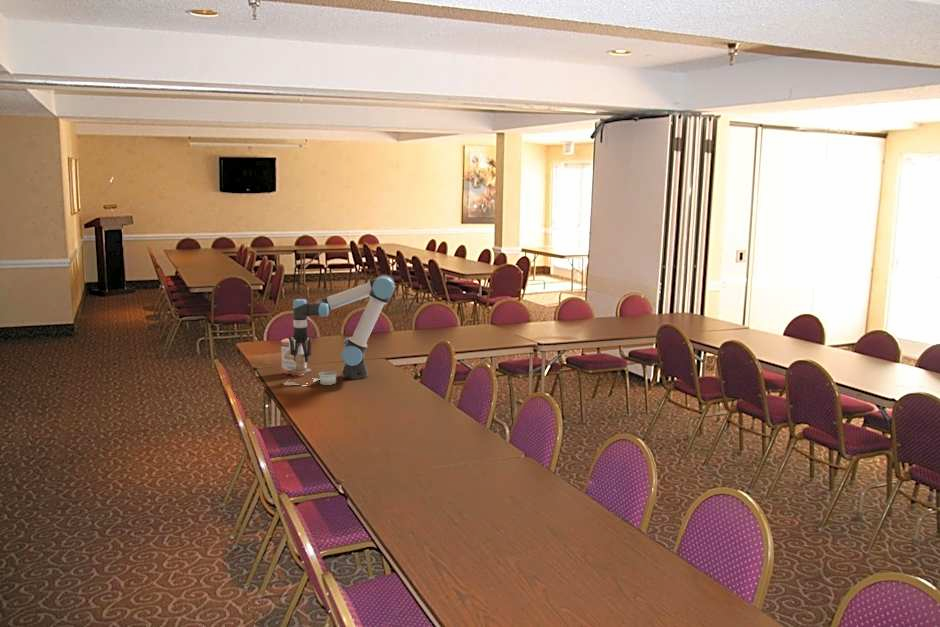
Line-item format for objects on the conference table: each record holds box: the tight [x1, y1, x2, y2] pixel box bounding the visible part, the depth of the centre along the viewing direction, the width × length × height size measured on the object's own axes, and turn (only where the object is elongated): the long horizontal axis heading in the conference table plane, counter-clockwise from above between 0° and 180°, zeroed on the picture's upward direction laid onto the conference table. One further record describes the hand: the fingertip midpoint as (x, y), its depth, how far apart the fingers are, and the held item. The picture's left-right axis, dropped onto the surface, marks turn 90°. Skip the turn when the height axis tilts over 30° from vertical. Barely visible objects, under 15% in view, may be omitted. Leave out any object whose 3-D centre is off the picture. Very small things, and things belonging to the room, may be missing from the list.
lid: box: [291, 353, 312, 375], centre depth 438 cm, size 11×11×10 cm
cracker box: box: [280, 338, 308, 376], centre depth 456 cm, size 14×6×21 cm, turn 68°
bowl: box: [318, 370, 338, 386], centre depth 436 cm, size 10×10×6 cm
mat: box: [282, 378, 320, 387], centre depth 440 cm, size 16×16×1 cm
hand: (301, 367), depth 439 cm, fingers closed on lid, 4 cm apart
